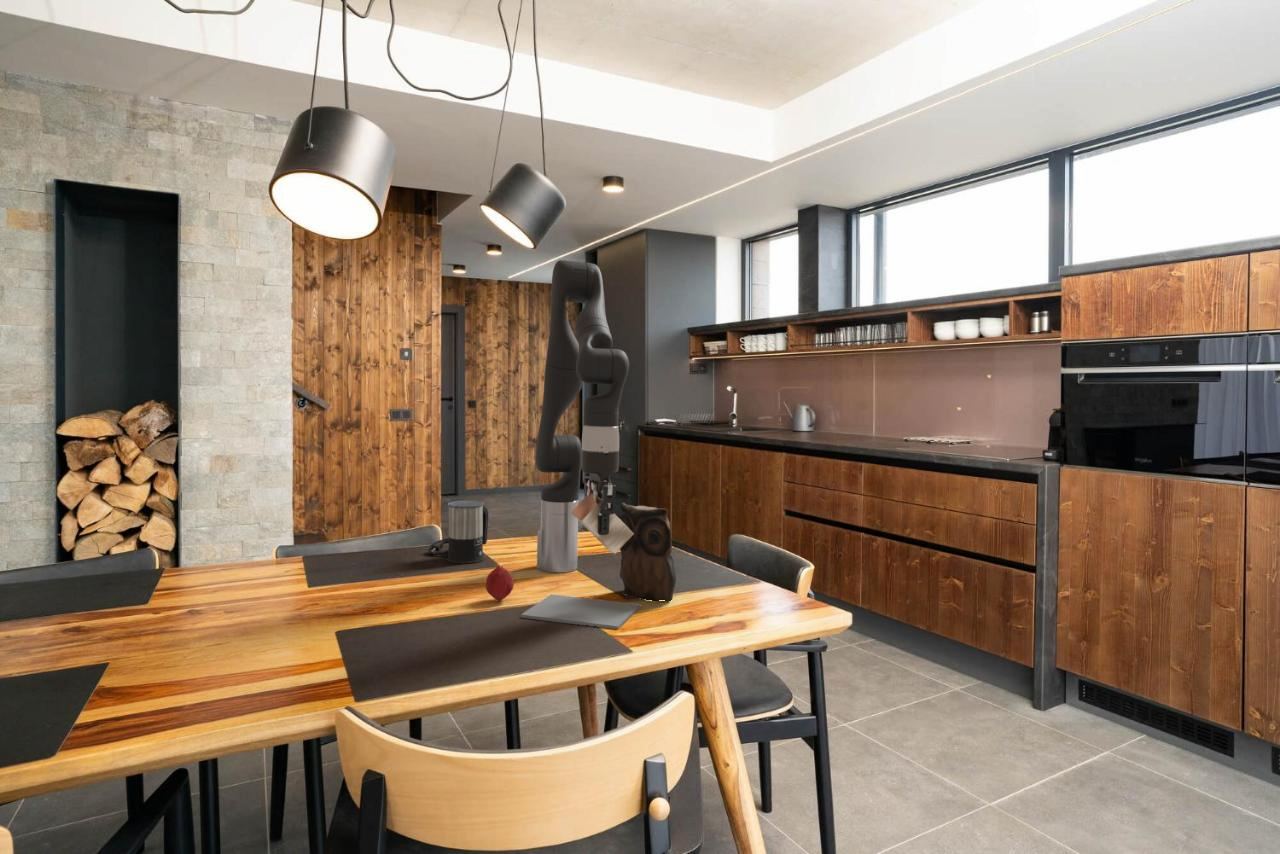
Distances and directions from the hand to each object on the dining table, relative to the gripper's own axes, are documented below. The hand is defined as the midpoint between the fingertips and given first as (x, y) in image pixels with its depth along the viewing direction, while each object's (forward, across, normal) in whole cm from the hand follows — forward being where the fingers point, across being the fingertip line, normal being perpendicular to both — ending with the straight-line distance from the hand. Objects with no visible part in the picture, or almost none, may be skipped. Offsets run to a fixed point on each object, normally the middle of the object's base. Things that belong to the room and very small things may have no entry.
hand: (598, 531), depth 150 cm
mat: (+16, 0, -3) cm, 17 cm away
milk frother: (+17, -54, -22) cm, 60 cm away
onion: (+17, -12, -18) cm, 27 cm away
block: (+2, 0, +5) cm, 5 cm away
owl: (+17, -8, +16) cm, 24 cm away
